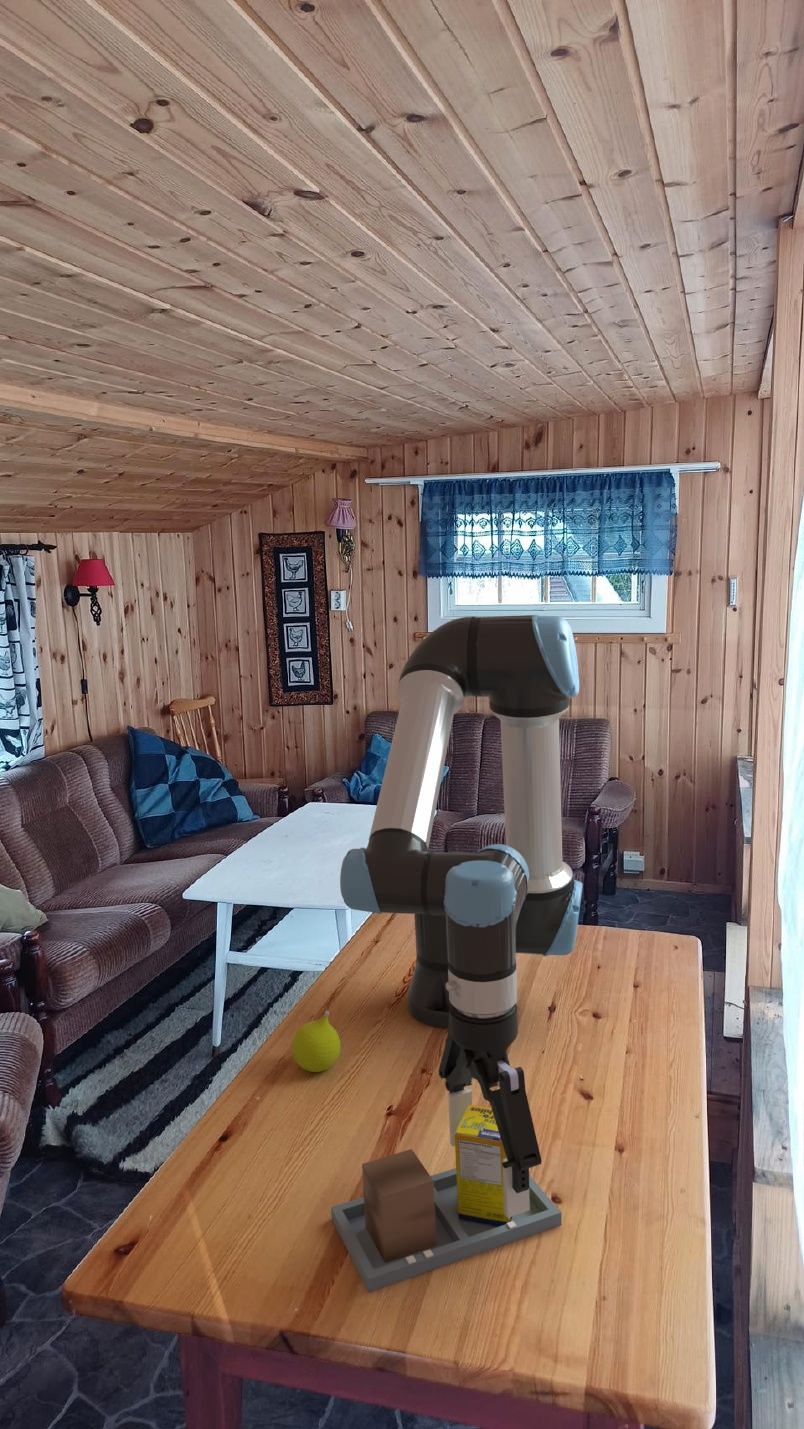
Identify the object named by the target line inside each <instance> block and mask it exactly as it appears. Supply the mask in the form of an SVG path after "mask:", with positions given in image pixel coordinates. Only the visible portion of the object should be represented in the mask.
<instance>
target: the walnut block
mask: <svg viewBox="0 0 804 1429" xmlns="http://www.w3.org/2000/svg"><path fill="white" fill-rule="evenodd" d="M361 1167H362V1169H361V1170H362V1171H361V1172H362V1185H363V1187H362V1188H363V1197H364V1208H365V1226H366V1229H367V1231H368V1233H369V1235H370V1236H371V1238H372V1240H373V1242H374V1244H375V1246H376V1247H377V1249H378V1251H379V1253H380V1255H381V1257H382V1258H383V1260H384V1262H385V1263H387V1262H390V1261H393V1260H396V1259H399V1258H402V1257H405V1256H408V1255H411V1254H413V1253H416V1252H419V1251H422V1250H425V1249H428V1248H431V1247H434V1246H436V1228H435V1203H434V1180H433V1179H432V1177H431V1176H432V1175H430V1174H429V1171H428V1170H427V1169H426V1167H425V1165H424V1164H423V1163H422V1162H421V1161H420V1158H418V1156H417V1155H416V1153H415V1151H414V1150H413V1149H407V1150H404V1151H400V1152H398V1153H392V1154H390V1155H387V1156H384V1157H381V1158H378V1159H374V1160H370V1161H367V1162H363V1163H361Z"/></svg>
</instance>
